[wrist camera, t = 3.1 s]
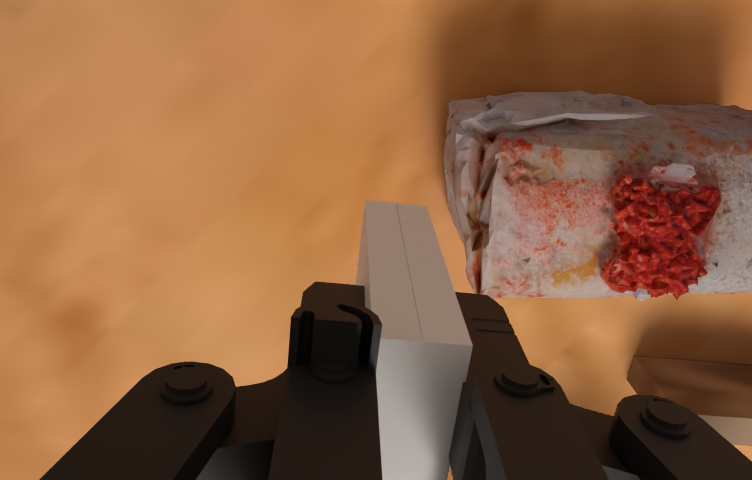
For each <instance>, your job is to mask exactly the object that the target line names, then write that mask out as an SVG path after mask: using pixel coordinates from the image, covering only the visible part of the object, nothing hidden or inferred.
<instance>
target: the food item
mask: <svg viewBox="0 0 752 480" xmlns="http://www.w3.org/2000/svg"><path fill="white" fill-rule="evenodd" d="M448 105H449V114H450V115H449V117H448V119H447V127H446V134H445V136H446V141H445V145H444V154H443V157H444V172H445V180H446V190H447V200H448V208H449V212H450V214H451V217H452V220H453V222H454V225H455V227H456V228H457V230H458V232H459V235H460V238H461V240H462V242H463V244H464V246H465V253H466V261H467V265H466V274H467V277H468V281H469V283H470V285H471V286H472V288H473V290H474V292H475V293H476V294H482V295H488V296H489V297H491V298H492V299H497V298H502V297H517V298H604V297H620V296H628V295H634V296H635V299H636V300H640V301H645V300H646V299H647V298H649V297H650V296H651V297H654V296H655V297H658V296H660V295H663V294H673V295H674V297H675V298H676V300H677V299H678V298H679V296H680V295H682V294H691V293H697V294H708V293H710V292H714V293H723V294H733V293H741V292H752V110H745V109H741V108H739V107H738V106H735V105H732V106H725V107H724V106H720V105H716V104H693V105H665V104H656V105H648V104H645V103H644V102H643V101H642V100H638V99H633V98H632V97H630V96H621V95H615V94H611V93H607V94H603V93H600V94H590V93H587V92H584V91H581V90H579V91H568V92H515V93H510V94H505V95H498V96H492V95H487V97H479V98H469V99H461V100H454V101H451V102H450V103H449V104H448Z"/></svg>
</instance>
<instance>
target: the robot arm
mask: <svg viewBox="0 0 752 480" xmlns="http://www.w3.org/2000/svg"><path fill="white" fill-rule="evenodd" d="M514 333H515V332H514V330H513V328H512V326H511V324H509V319H508V317H507V315H506V313H505V311H504V309H503V307H502V306H500V305H499V304H498V303H497V302H496V301H494V300H493V299H492V298H491V297H489V296H488V295H482V294H471V293H460V292H455V291H454V288H453V285H452V282H451V279H450V276H449V273H448V270H447V267H446V264H445V261H444V258H443V255H442V252H441V249H440V246H439V243H438V240H437V237H436V234H435V231H434V228H433V225H432V222H431V219H430V216H429V213H428V210H427V207H426V206H421V205H410V204H400V203H390V202H380V201H370V200H365V207H364V216H363V225H362V234H361V243H360V252H359V261H358V270H357V279H356V285H349V284H337V283H326V282H314V283H313V284H312V285H311V286H310V287H308V288H307V289H306V290H305V291H304V292H303V296H302V302H301V307H299V308H297V309H296V310H295V312H294V313H293V315H292V317H291V327H290V341H289V355H288V367H287V369H286V370H285V371H284V372H283V373H282V374H280V375H279V376H277V377H275V378H274V379H271V380H268V381H266V382H263V383H258V384H253V385H247V386H240V387H236V386H235V383H234V380H233V377H232V376H231V375H229V374H228V373H227V372H226V371H225V370H224V369H222V368H219V367H216V366H214V365H211V364H208V363H199V362H183V363H182V362H180V363H173V364H169V365H166V366H164V367H161V368H158V369H155V370H153V371H152V372H150V373H149V374H148V375H146V376H145V377H143V378H142V379H141V380H140V381H139V382H138V383H137V384H136V385H135V386H134V387H133V388H132V389H131V390H130V391H129V392H128V393H127V394H126V395H125V396H124V397H123V398H122V399H121V400H120V401H119V402H118V403H117V404H116V405H114V406H113V407H112V408H111V409H110V410H109V411H108V412H107V413H106V414H105V415H104V416H103V417H102V418H101V419H100V420H99V421H98V422H97V423H96V424H95V425H94V426H93V427H92V428H91V429H90V430H89V431H88V432H87V433H86V434H85V435H84V436H83V437H82V438H81V439H80V440H79V441H78V442H77V443H76V444H75V445H74V446H73V447H72V448H71V449H70V450H69V451H68V452H67V453H66V454H65V455H64V456H63V457H62V458H61V459H60V460H59V461H58V462H57V463H56V464H55V465H54V466H53V467H52V468H51V469H50V470H49V471H48V472H47V473H46V474H45V475H44V476H43V477H42V478H41V479H40V480H447V477H448V471H449V466H450V465H451V470H452V475H453V480H752V462H751V461H750V460H749V459H748V458H747V457H746V456H745V455H743V454H742V453H741V452H740V451H739V450H738V449H737V448H735V447H734V446H733V445H732V444H731V443H730V442H729V441H727V440H726V439H725V438H724V437H723V436H722V435H720V434H719V433H718V432H717V431H716V430H715V429H714V428H712V427H711V426H710V425H709V424H708V423H707V422H706V421H704V420H703V419H702V418H701V417H699V416H698V415H696V414H695V413H694V412H692V411H691V410H689V409H688V408H686V407H684V406H682V405H679V404H677V403H675V402H674V401H672V400H670V399H667V398H661V397H659V396H654V395H632V396H628V397H624V398H623V399H622V400H621V401H620V402H619V403H618V405H617V408H616V412H615V415H614V416H610V415H606V414H603V413H599V412H595V411H592V410H588V409H584V408H581V407H578V406H575V405H572V404H570V403H569V401H568V399H567V397H566V395H565V394H564V392H563V390H562V388H561V386H560V385H559V384H558V383H557V381H556V380H555V379H554V378H553V377H552V376H550V375H549V374H547V373H546V372H544V371H543V370H541V369H539V368H537V367H534V366H532V365H530V364H529V362H528V360H527V358H526V356H525V353H524V351H523V349H522V347H521V345H520V343H519V341H518V339H517V336H516V335H514Z"/></svg>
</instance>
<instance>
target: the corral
mask: <svg viewBox="0 0 752 480" xmlns="http://www.w3.org/2000/svg"><path fill="white" fill-rule="evenodd" d="M627 380H628V382H629V383H630V385H631V386H632V387H633V389H634V390H635V391H636V393H637V394H638V395H654V396H659V397H661V398H667V399H670V400H672V401H674V402H675V403H677V404H679V405H682V406H684V407H686V408H688V409H689V410H691V411H692V412H694V413H695V414H696V415H698V416H699V417H701V418H702V419H703V420H704V421H706V422H707V423H708V424H709V425H710V426H711V427H712V428H714V429H715V430H716V431H717V432H718V433H719V434H720V435H722V436H723V437H724V438H725V439H726V440H727V441H729V442H730V443H731V444H733V445H748V446H752V365H745V364H733V363H720V362H707V361H694V360H681V359H669V358H656V357H643V356H634V358H633V361H632V365H631V368H630V371H629V375H628V378H627Z"/></svg>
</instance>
